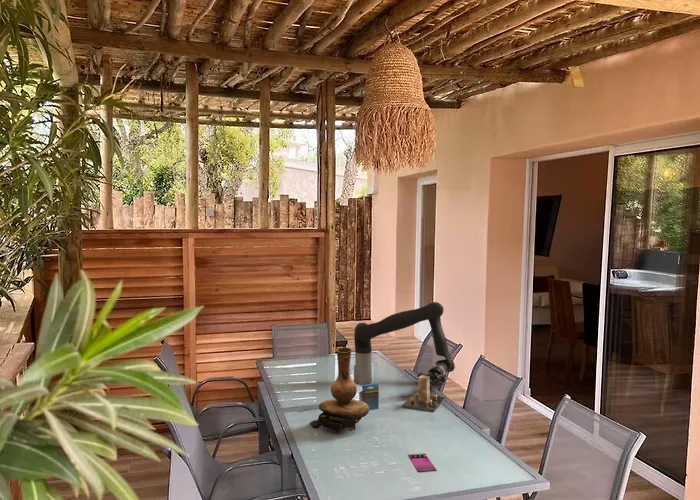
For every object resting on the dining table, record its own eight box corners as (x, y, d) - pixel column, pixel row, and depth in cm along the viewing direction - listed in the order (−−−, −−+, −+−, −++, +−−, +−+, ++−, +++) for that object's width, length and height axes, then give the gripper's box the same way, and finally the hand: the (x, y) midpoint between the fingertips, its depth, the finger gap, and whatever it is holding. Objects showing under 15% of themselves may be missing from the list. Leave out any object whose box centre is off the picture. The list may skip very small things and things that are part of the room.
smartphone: (425, 455, 212) (425, 453, 212) (437, 471, 197) (437, 469, 197) (407, 457, 211) (407, 454, 211) (417, 473, 196) (417, 470, 196)
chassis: (402, 407, 266) (402, 399, 266) (414, 395, 284) (414, 388, 284) (434, 411, 259) (434, 404, 259) (445, 399, 277) (445, 392, 277)
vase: (319, 439, 227) (318, 355, 226) (307, 421, 248) (307, 344, 247) (373, 432, 234) (372, 351, 233) (357, 415, 255) (356, 340, 254)
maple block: (418, 401, 271) (418, 377, 270) (420, 399, 275) (420, 375, 274) (426, 402, 269) (426, 378, 268) (429, 400, 273) (429, 376, 272)
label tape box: (375, 406, 268) (375, 381, 267) (379, 408, 264) (379, 383, 264) (358, 408, 265) (358, 383, 264) (362, 411, 261) (362, 385, 260)
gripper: (423, 364, 295) (414, 372, 280) (450, 367, 289) (441, 375, 274) (423, 378, 295) (414, 386, 281) (449, 381, 289) (441, 390, 275)
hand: (428, 381), depth 278 cm, fingers open, 8 cm apart
